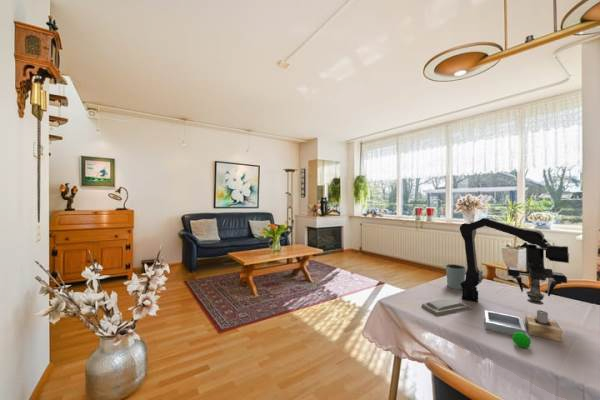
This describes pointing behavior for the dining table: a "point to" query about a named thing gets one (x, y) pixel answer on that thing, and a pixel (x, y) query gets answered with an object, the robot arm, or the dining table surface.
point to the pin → (542, 317)
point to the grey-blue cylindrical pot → (455, 275)
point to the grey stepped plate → (445, 306)
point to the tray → (503, 323)
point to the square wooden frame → (543, 328)
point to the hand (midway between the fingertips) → (535, 293)
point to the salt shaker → (535, 292)
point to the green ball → (521, 339)
